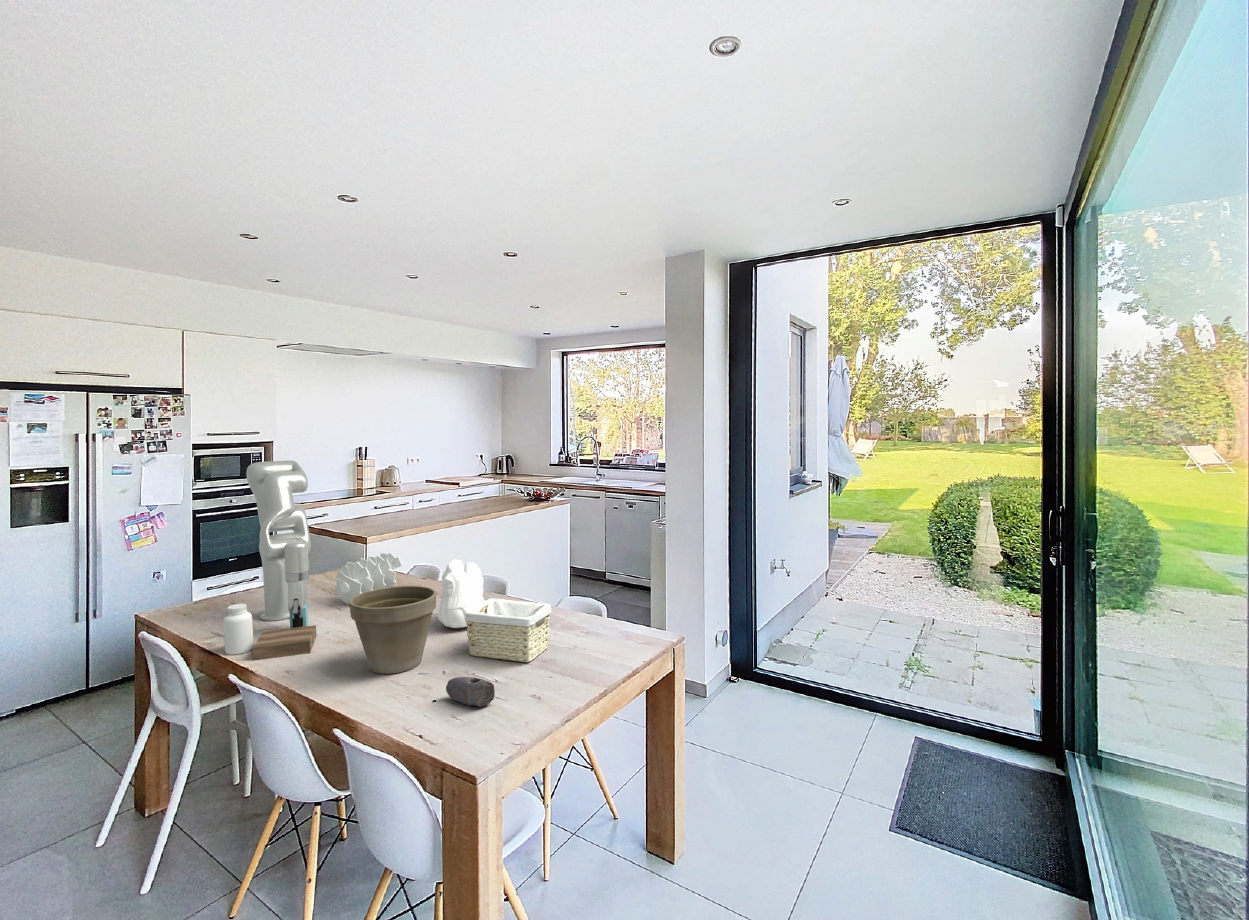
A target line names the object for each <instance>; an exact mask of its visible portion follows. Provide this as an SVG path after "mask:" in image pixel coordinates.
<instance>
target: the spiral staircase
mask: <svg viewBox="0 0 1249 920" xmlns="http://www.w3.org/2000/svg"><path fill="white" fill-rule="evenodd" d="M402 566H403V563H402V561H401V558H400V557H399V556H398V557H396V555H394V554H393V553H392V552H391V551H389V553H383V552H380V555H379V554H378V555H376V556H368V558H367V559H365V558H361V557H359V560H357V561H354V562H350V561H347V562H346V564H344V565H342V566H340V567H339V570H338V572H337V573H336V576H335V578H336V579H335V585H334V586H335V590H336V594H337V596H338V597H339V598H340V599H341V601H342V602H343V603H347V604H348V605H350V603H349V602H350V600H351V599H352V598H353V597H355V596H356V595H359V594H361V593H364V592H367V591H371V590H375V589H380V588H386V587H394V586H396V584H398V582H397V580H395V579H396V572H395V571H394V570H396V569H398V568H400V567H402Z"/></svg>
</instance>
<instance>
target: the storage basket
mask: <svg viewBox="0 0 1249 920" xmlns="http://www.w3.org/2000/svg"><path fill="white" fill-rule="evenodd" d="M482 612H484V613H482ZM551 613H552V606H551V604H549V603H541V602H533V601H532V602H531V601H518V600H508V599H503V598H489V599H487V600H484V602H482V603H480V604H478V605H476V606H475V607H473V608H471V609H469V610H467V611H466V612H465V620H466V622H467V627H466V632H467V633H466V636H467V638H468V639H467V643H468V649H469V655H470V656H473V657H483V658H489V659H496V660H499V659H500V660H504V661H513V662H519V663H520V662H523V663H529V662H531V661H533V660H534V659H535V658H537V657H538V656H539V655H541V654H542V653H543V652H544V651H545V650H546V649H548V647H549V639H550V637H549V636H550V621H551Z"/></svg>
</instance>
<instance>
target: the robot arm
mask: <svg viewBox="0 0 1249 920" xmlns="http://www.w3.org/2000/svg"><path fill="white" fill-rule="evenodd" d="M245 475H246V480H247V484H248V486H249V488H250V491H251V492H252V494H253V496H254V498H255V501H256V508H257V515H258V520H259V525H260V531H259V543H258V549H259V551H258V552H259V554H260V558H261V564H262V565H261V566H262V577H263V581H262V582H263V599H264V612H263V613H261V614H260V615H259V616H260V620H262V621H267V622H269V621H270V622H271V621H272V622H273V621H282V620H286V619H290V612H289V611H290V610H292V608H293V619H292V620H293V628H296V627H303V617H302V609H303V608H304V607H305V604H307V600H308V599H307V594H308V593H307V581H309V580H310V559H309V557H310V556H309V553H310V552H311V549H312V541H311V533H310V529H309V523H308V518H307V513H306V511H305V509H304V508H303V506H301V505H295V501H294V495H293V494H299V493H301V494H302V493H305V492H306V491H307V490H308V487H309V483H308V482H309V481H308V476H307V474H306V473H305V471H304V470H303V468H302V467H301V466H300V464H299V463H298V462H297V461H295V460H275V461H274V460H269V461H257V462H254V463H251V464H250V465H248V467H247V468H246V474H245ZM284 531H293V532H287V533H277V532H284ZM274 532H275V533H277V534H272V535H270V533H274ZM299 607H300V609H298V608H299ZM298 611H300V613H299V612H298Z"/></svg>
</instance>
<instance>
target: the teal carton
mask: <svg viewBox="0 0 1249 920" xmlns="http://www.w3.org/2000/svg"><path fill="white" fill-rule="evenodd" d="M298 609H300V607H299V608H298ZM289 612H290V618H289V628H293V620H292V619H293V608H292V610H290V611H289ZM298 612H299V613H300V611H298ZM308 614H309V608H308V603H306V604H305V607H304V608H303V609H302V617H303V627H305V626H309V615H308Z"/></svg>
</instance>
